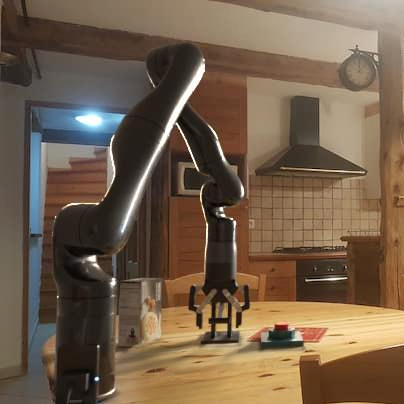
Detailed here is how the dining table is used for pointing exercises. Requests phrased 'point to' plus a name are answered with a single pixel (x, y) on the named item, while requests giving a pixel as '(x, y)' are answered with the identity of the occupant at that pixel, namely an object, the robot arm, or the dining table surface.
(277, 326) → the stop button
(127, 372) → the dining table surface
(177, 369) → the dining table surface
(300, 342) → the button housing
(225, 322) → the lever
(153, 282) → the coffee box
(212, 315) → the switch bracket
